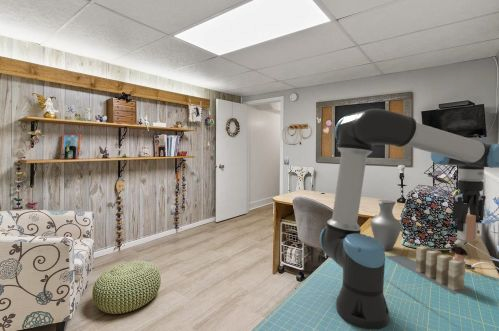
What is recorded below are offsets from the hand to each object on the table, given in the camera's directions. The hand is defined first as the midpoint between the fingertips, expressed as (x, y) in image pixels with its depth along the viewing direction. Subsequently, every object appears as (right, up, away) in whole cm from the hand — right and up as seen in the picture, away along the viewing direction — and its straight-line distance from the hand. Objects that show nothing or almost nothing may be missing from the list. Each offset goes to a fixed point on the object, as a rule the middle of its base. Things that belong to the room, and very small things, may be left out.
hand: (466, 238), depth 100 cm
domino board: (-14, -16, +5) cm, 22 cm away
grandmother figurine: (+6, -16, +11) cm, 20 cm away
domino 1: (-14, -15, +6) cm, 21 cm away
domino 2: (-13, -15, +1) cm, 20 cm away
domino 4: (-10, -16, -8) cm, 21 cm away
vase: (-15, -15, +33) cm, 39 cm away
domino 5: (0, -1, 0) cm, 1 cm away
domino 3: (-12, -16, -3) cm, 20 cm away
